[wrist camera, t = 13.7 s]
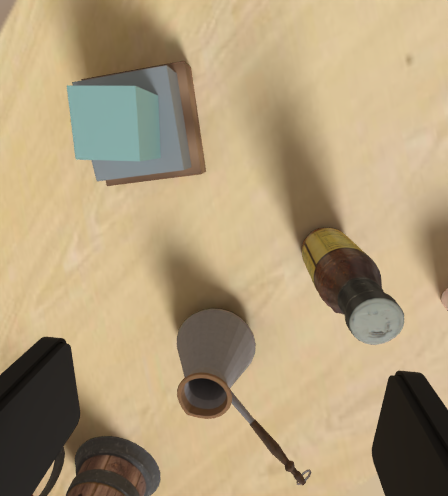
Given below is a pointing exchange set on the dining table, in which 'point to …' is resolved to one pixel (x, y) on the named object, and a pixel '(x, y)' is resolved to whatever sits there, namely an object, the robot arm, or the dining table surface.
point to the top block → (170, 124)
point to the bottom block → (190, 125)
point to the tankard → (109, 469)
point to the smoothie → (445, 299)
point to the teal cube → (114, 123)
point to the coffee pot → (219, 371)
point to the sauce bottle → (351, 286)
